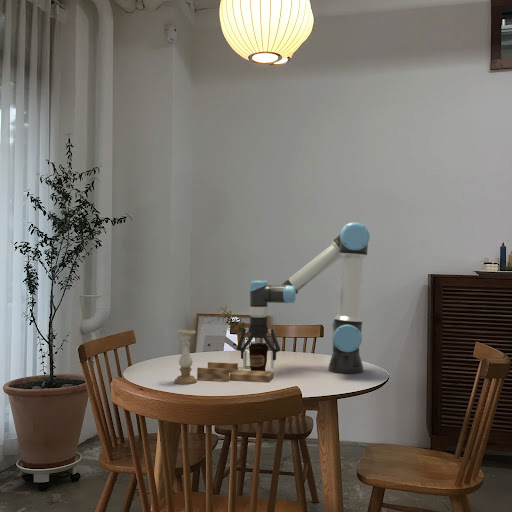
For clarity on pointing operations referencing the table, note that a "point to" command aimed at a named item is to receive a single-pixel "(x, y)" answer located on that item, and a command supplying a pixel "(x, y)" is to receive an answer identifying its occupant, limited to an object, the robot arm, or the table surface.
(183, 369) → the candle holder
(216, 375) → the wooden stepped block
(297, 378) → the table surface
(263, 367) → the coffee cup
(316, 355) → the table surface
